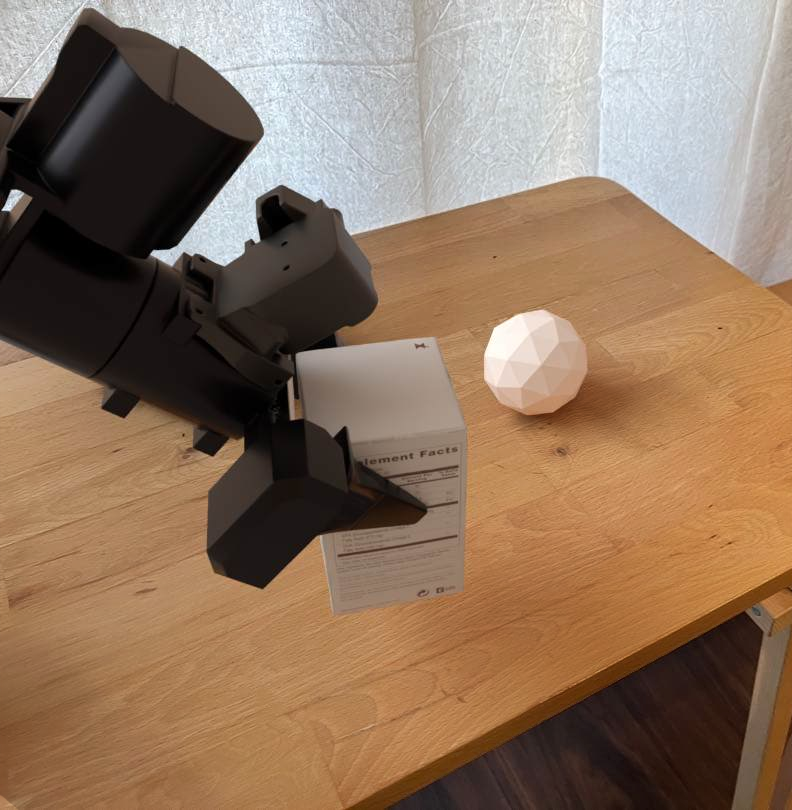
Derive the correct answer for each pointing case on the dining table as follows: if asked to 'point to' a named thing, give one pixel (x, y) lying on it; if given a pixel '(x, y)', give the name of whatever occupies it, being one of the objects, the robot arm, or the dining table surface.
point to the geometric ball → (535, 362)
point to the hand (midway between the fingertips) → (410, 462)
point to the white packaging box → (393, 467)
